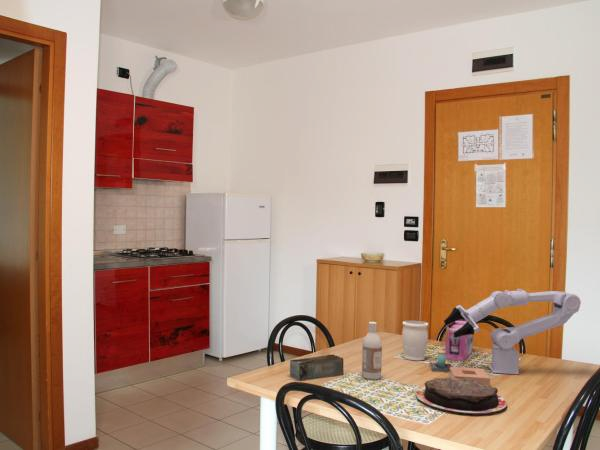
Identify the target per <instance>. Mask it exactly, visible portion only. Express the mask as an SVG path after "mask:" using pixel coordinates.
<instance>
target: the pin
mask: <svg viewBox="0 0 600 450" xmlns="http://www.w3.org/2000/svg"><path fill="white" fill-rule="evenodd" d="M436 359H437V360H436V361H437V362H436V363H437V367H445V363H446V360H447V359H446V351H445V349H444V350H442V349H438V350H437V358H436Z"/></svg>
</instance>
